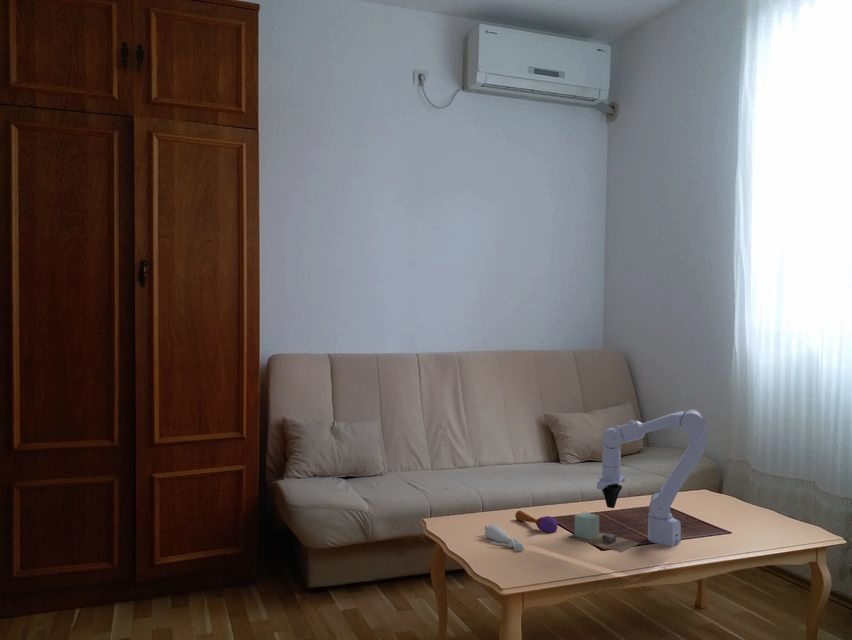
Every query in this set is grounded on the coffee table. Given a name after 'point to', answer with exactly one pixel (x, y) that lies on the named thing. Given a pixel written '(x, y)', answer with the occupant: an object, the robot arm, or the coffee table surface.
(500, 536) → the woman figurine
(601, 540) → the board
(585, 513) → the frosted mint cube
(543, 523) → the purple and brown maraca
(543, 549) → the coffee table surface
